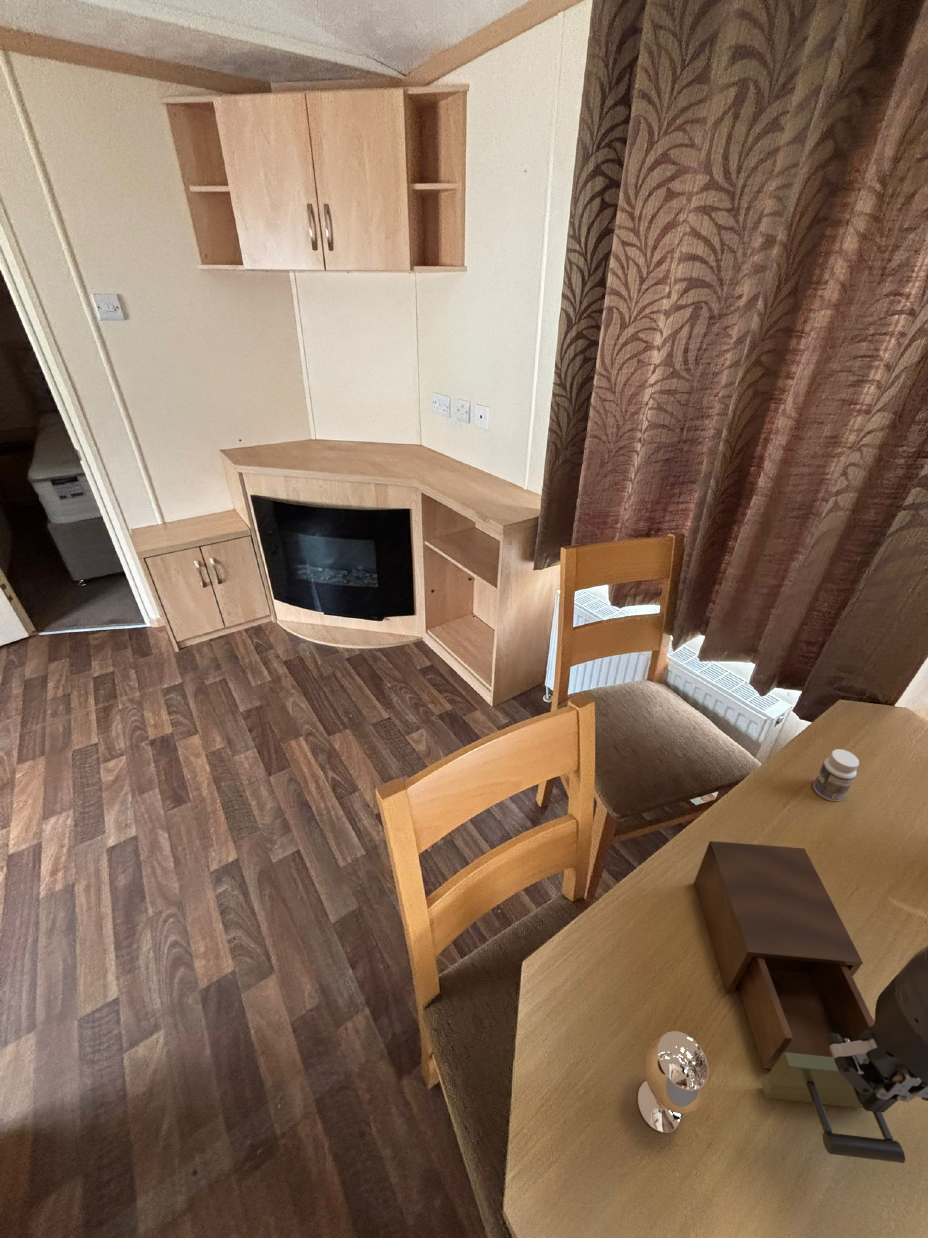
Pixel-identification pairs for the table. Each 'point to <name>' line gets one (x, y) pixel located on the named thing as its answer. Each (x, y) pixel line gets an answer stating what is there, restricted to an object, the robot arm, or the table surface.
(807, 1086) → the drawer
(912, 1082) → the robot arm
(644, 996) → the table surface
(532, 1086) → the table surface
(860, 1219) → the table surface
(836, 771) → the pill bottle
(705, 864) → the cabinet
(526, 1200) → the table surface
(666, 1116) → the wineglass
